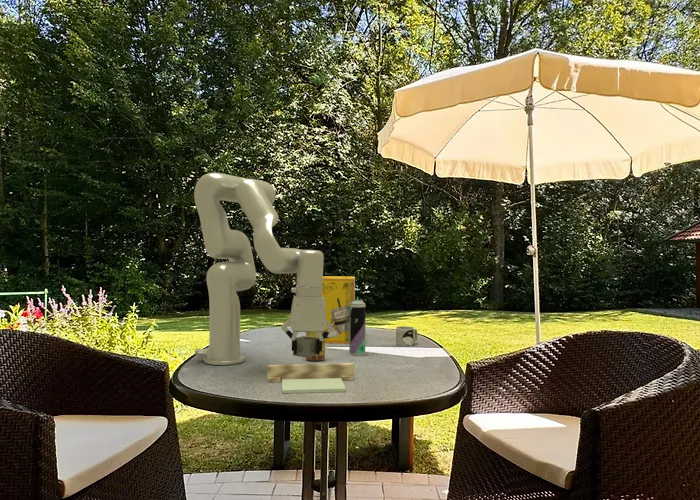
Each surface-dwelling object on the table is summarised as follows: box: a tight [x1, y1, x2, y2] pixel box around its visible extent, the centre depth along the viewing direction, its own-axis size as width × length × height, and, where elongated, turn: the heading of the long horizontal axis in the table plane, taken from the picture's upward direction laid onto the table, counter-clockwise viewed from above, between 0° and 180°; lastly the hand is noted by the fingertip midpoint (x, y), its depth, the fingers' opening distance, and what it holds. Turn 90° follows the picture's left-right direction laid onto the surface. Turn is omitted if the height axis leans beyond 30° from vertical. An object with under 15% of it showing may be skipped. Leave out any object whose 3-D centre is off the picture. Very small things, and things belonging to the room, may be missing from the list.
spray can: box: [348, 295, 367, 357], centre depth 184 cm, size 6×6×20 cm
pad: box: [281, 378, 347, 394], centre depth 140 cm, size 16×11×1 cm
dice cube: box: [292, 335, 317, 359], centre depth 156 cm, size 5×5×5 cm
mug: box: [395, 326, 419, 348], centre depth 204 cm, size 10×7×7 cm
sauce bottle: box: [305, 330, 326, 362], centre depth 174 cm, size 7×6×20 cm
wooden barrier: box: [266, 362, 355, 383], centre depth 148 cm, size 24×5×4 cm, turn 98°
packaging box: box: [322, 275, 356, 344], centre depth 213 cm, size 16×16×25 cm
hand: (306, 353), depth 156 cm, fingers closed on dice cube, 6 cm apart
